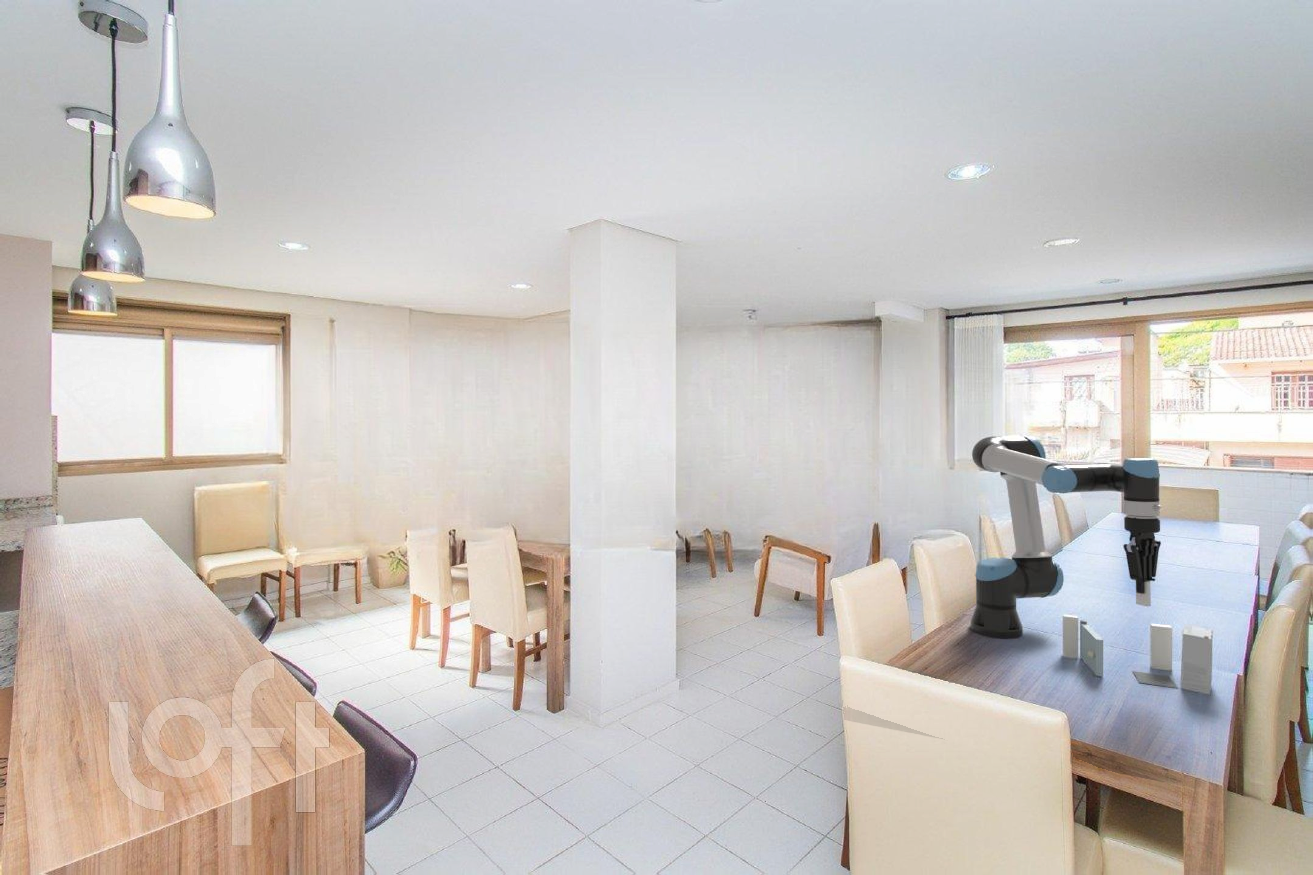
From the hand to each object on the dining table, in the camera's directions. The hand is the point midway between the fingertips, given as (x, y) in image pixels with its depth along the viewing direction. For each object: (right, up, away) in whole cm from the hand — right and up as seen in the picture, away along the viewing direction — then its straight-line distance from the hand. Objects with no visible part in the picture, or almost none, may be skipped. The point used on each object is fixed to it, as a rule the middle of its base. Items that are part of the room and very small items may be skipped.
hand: (1143, 604), depth 166 cm
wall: (+2, -20, +12) cm, 23 cm away
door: (-8, -20, +10) cm, 24 cm away
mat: (+3, -20, 0) cm, 20 cm away
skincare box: (+10, -20, -4) cm, 23 cm away
